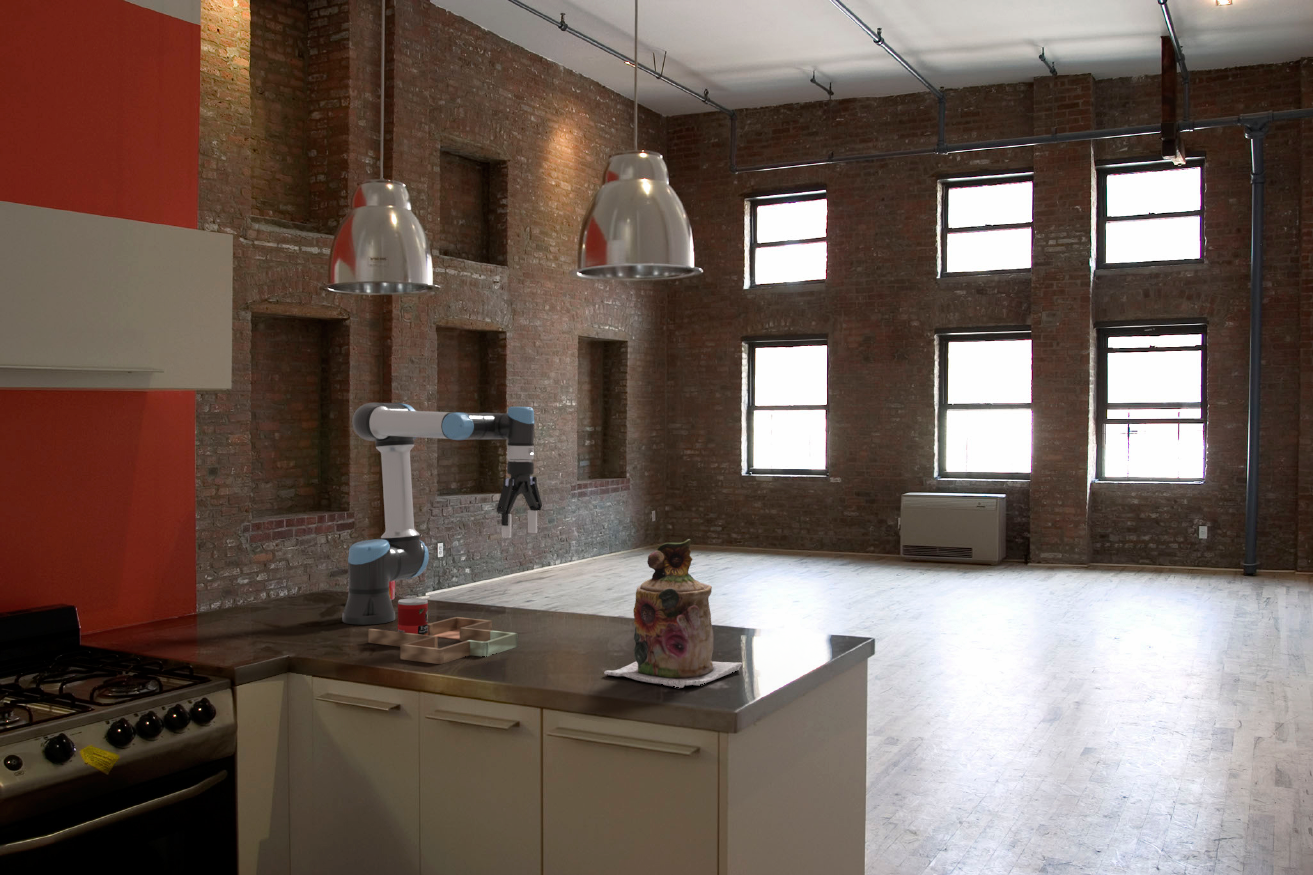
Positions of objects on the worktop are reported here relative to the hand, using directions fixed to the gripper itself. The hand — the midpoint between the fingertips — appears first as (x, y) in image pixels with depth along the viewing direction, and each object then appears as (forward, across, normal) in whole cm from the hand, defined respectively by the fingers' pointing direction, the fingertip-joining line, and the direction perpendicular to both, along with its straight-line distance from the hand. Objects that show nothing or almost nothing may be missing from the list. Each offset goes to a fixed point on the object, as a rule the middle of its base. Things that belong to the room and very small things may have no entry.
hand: (519, 535), depth 315 cm
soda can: (+28, +21, +66) cm, 74 cm away
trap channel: (+27, -28, +6) cm, 40 cm away
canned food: (+27, -28, +15) cm, 42 cm away
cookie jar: (+26, -32, -64) cm, 76 cm away
